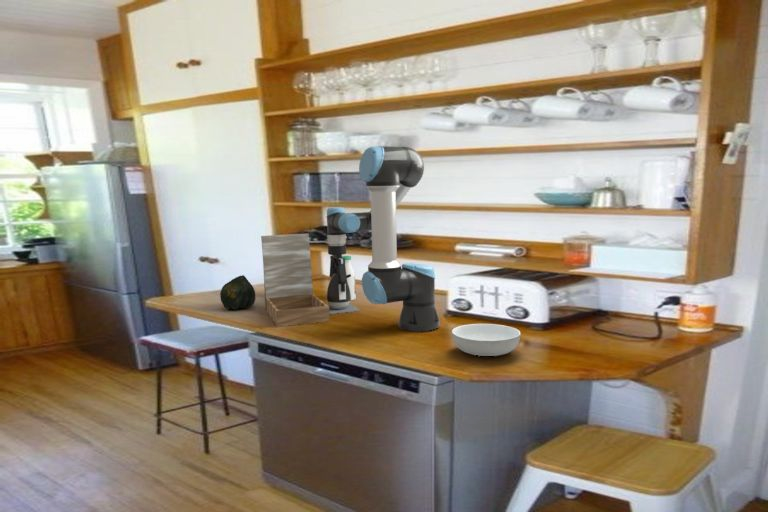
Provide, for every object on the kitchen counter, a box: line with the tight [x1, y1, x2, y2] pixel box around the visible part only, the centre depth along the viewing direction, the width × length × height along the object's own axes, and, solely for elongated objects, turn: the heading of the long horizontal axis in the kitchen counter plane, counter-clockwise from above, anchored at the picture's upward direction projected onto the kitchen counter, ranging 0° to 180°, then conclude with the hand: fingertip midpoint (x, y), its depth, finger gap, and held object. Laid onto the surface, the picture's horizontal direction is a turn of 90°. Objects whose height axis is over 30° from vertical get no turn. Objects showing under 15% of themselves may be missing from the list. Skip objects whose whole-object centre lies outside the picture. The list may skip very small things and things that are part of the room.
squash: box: [219, 274, 256, 310], centre depth 242 cm, size 14×15×15 cm
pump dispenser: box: [326, 273, 352, 309], centre depth 234 cm, size 10×10×15 cm
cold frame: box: [260, 233, 330, 328], centre depth 225 cm, size 32×20×32 cm, turn 21°
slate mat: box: [327, 303, 361, 315], centre depth 236 cm, size 14×14×1 cm
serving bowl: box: [451, 323, 521, 357], centre depth 172 cm, size 21×21×7 cm
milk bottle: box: [342, 255, 357, 301], centre depth 254 cm, size 8×8×20 cm
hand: (338, 296), depth 235 cm, fingers open, 11 cm apart
